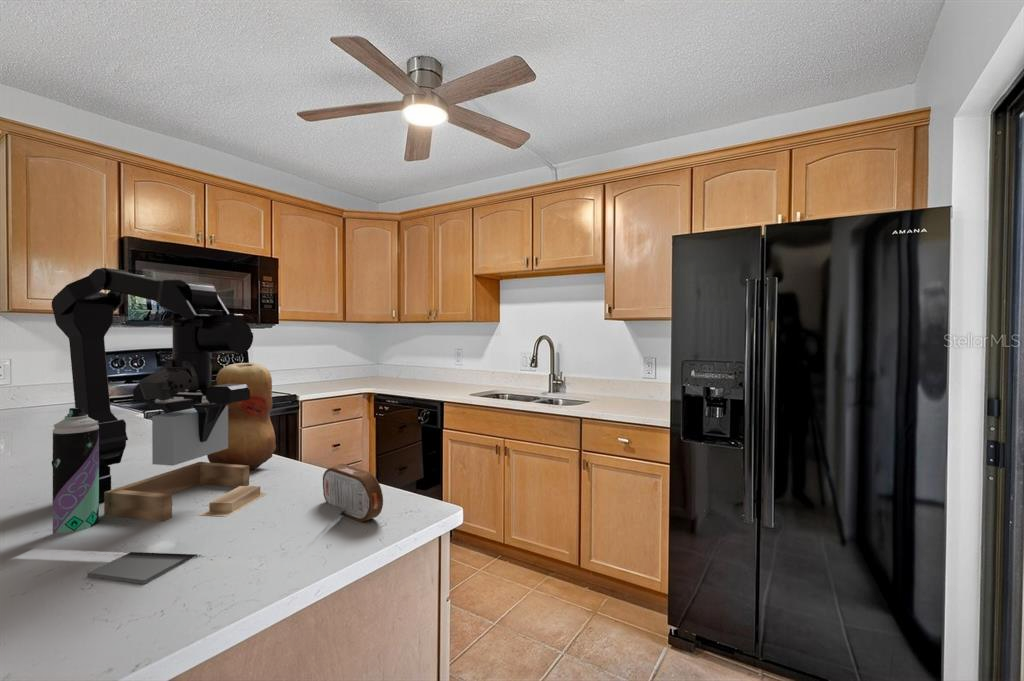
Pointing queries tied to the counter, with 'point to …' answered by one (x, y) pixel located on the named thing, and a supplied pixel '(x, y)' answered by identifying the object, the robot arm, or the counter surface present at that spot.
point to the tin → (353, 492)
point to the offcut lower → (224, 514)
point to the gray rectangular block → (185, 437)
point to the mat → (139, 566)
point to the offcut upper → (234, 499)
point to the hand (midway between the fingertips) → (192, 441)
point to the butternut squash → (248, 417)
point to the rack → (169, 489)
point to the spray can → (75, 472)
